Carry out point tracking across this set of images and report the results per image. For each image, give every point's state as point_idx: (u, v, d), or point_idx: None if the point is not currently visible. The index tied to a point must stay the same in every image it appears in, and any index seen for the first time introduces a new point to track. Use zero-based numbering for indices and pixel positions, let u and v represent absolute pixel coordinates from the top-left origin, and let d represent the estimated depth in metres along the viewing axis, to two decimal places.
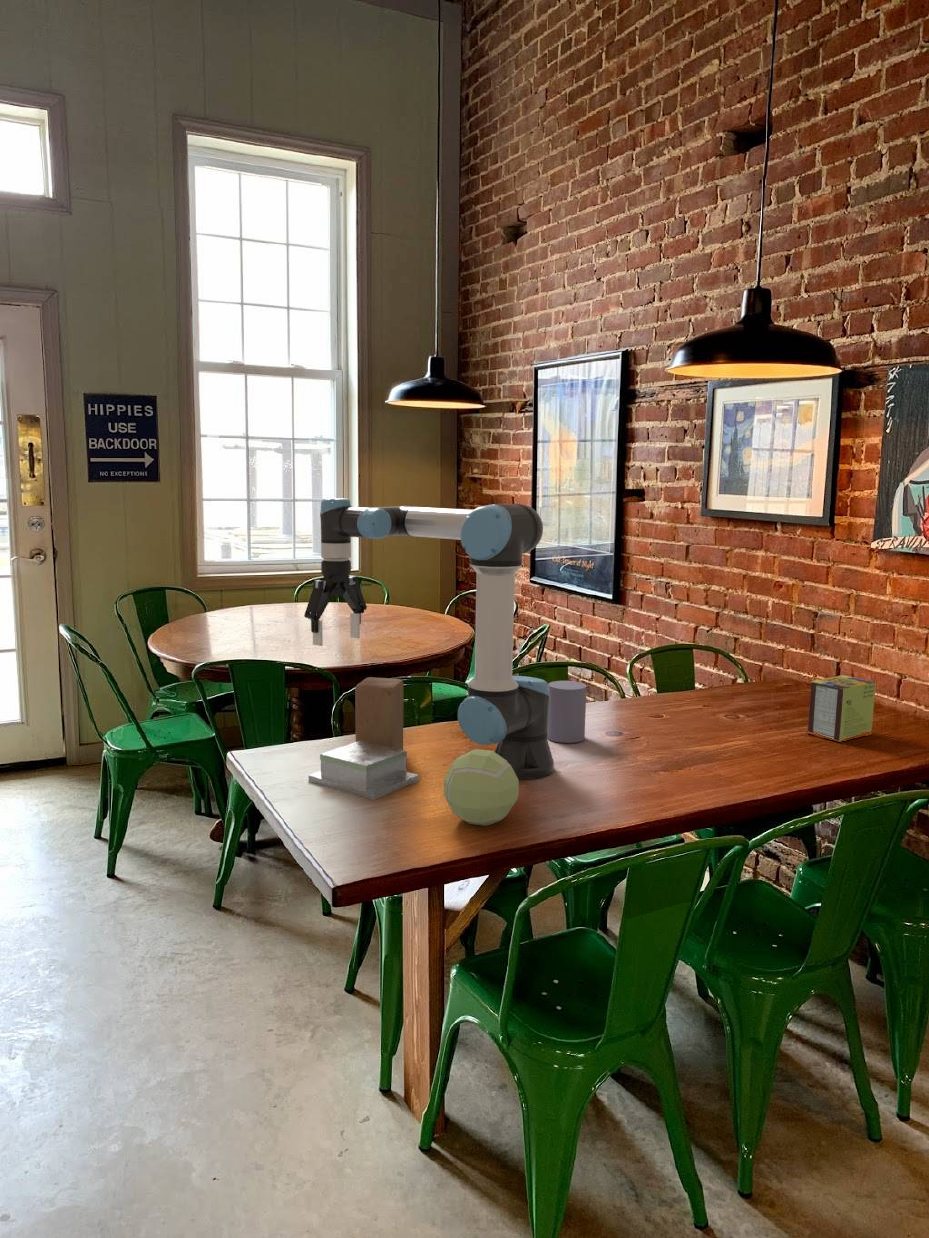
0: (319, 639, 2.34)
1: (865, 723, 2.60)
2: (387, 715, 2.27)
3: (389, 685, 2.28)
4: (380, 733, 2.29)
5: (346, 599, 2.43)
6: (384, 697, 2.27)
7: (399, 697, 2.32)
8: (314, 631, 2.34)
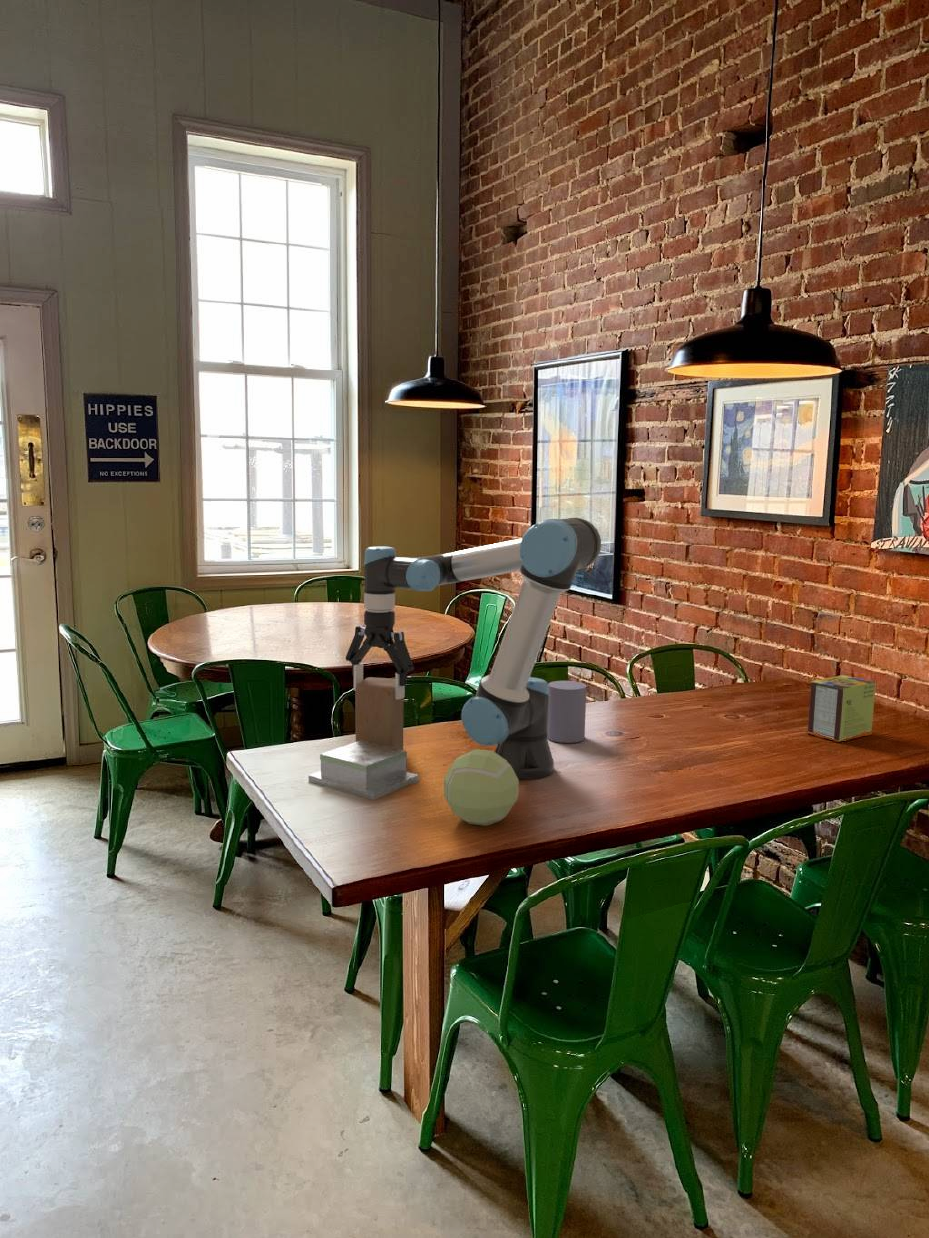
0: None
1: (865, 723, 2.60)
2: (387, 715, 2.27)
3: (389, 685, 2.28)
4: (380, 733, 2.29)
5: None
6: (384, 697, 2.27)
7: None
8: None
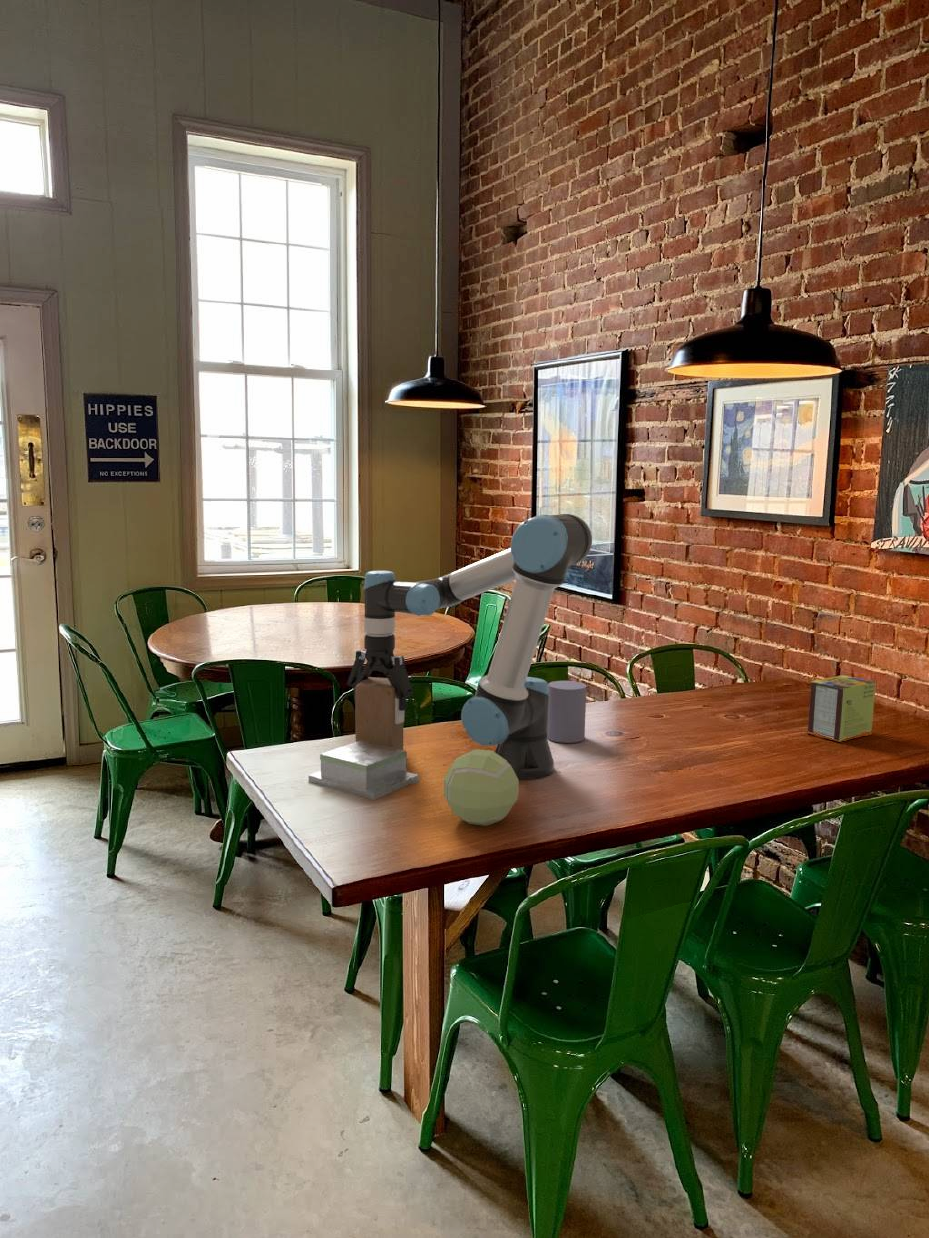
0: None
1: (865, 723, 2.60)
2: (387, 715, 2.27)
3: (389, 685, 2.28)
4: (380, 733, 2.29)
5: None
6: (383, 697, 2.27)
7: None
8: None
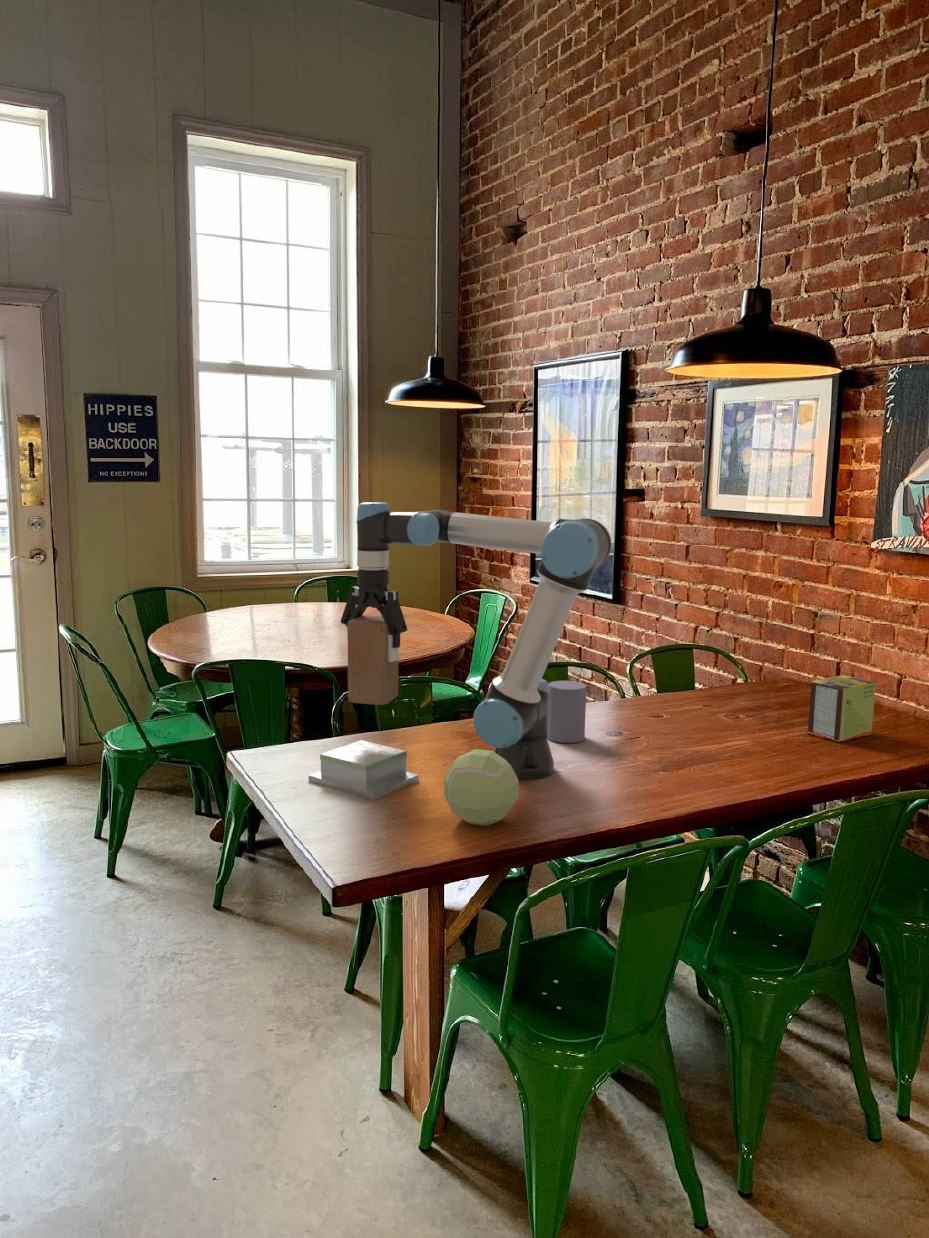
0: None
1: (865, 723, 2.60)
2: (380, 652, 2.18)
3: (382, 621, 2.19)
4: (372, 671, 2.19)
5: None
6: (376, 633, 2.18)
7: None
8: None
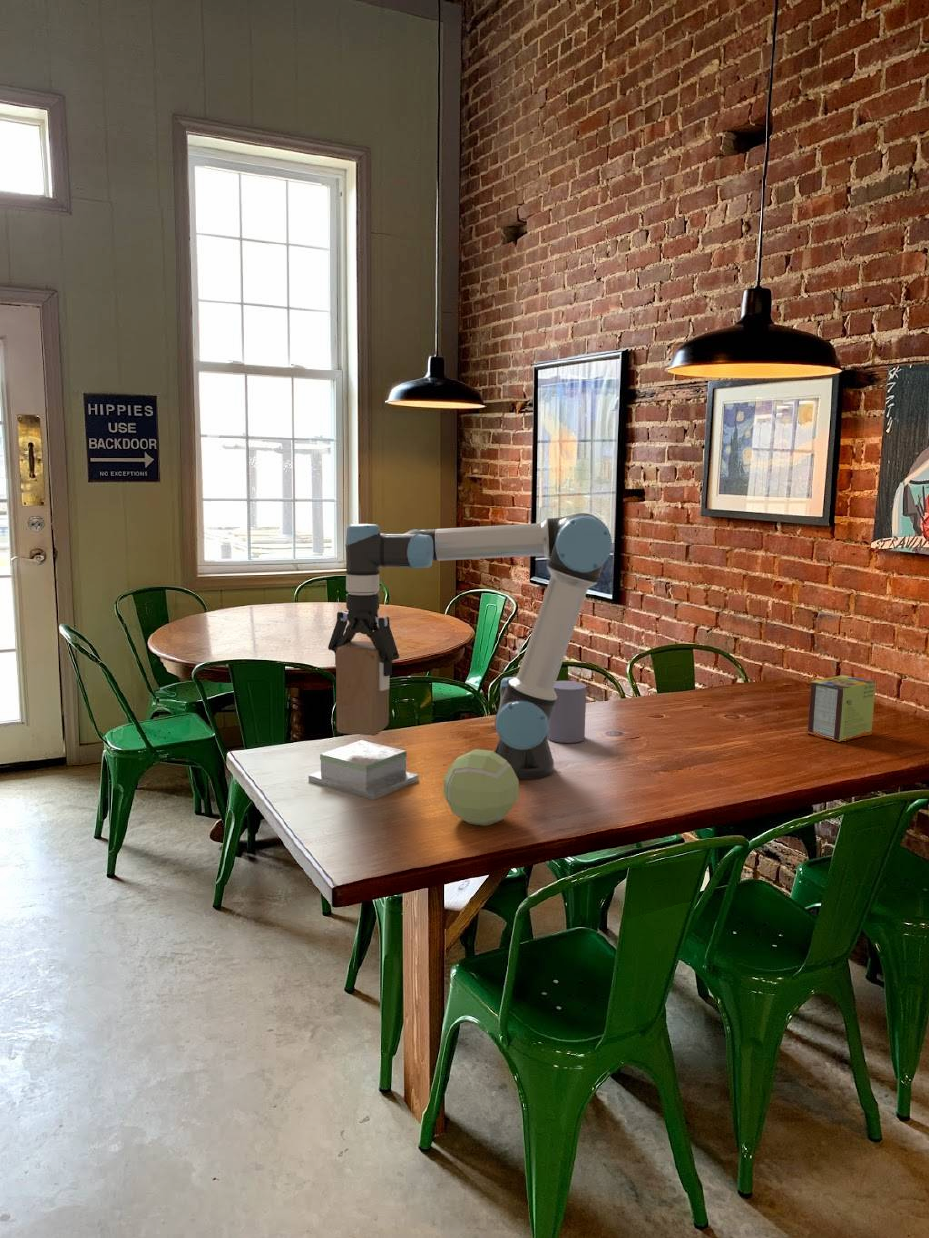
0: None
1: (865, 723, 2.60)
2: (371, 681, 2.09)
3: (373, 648, 2.09)
4: (363, 700, 2.10)
5: None
6: (367, 661, 2.08)
7: None
8: None
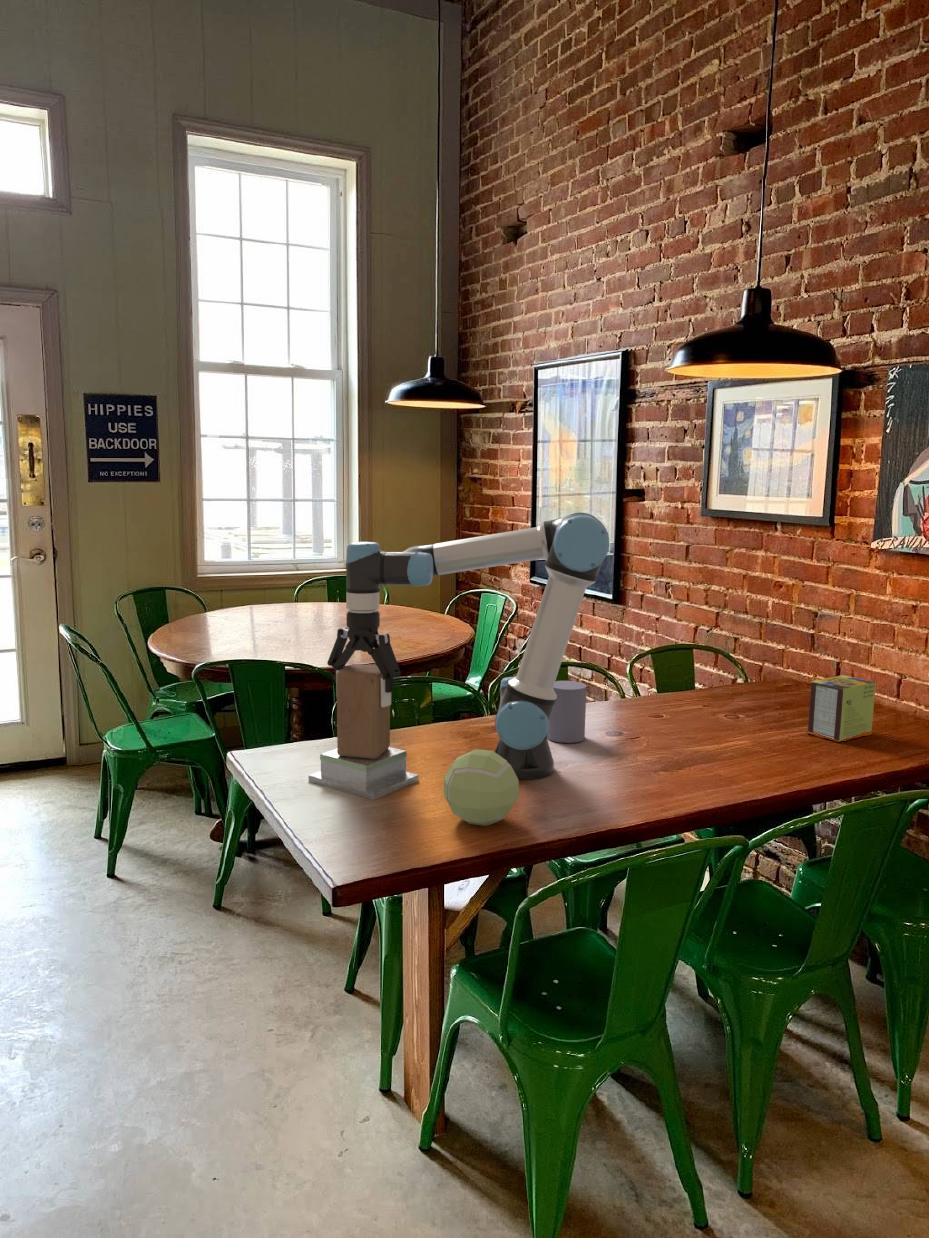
0: None
1: (865, 723, 2.60)
2: (371, 705, 2.10)
3: (373, 672, 2.10)
4: (363, 724, 2.11)
5: None
6: (367, 685, 2.09)
7: None
8: None
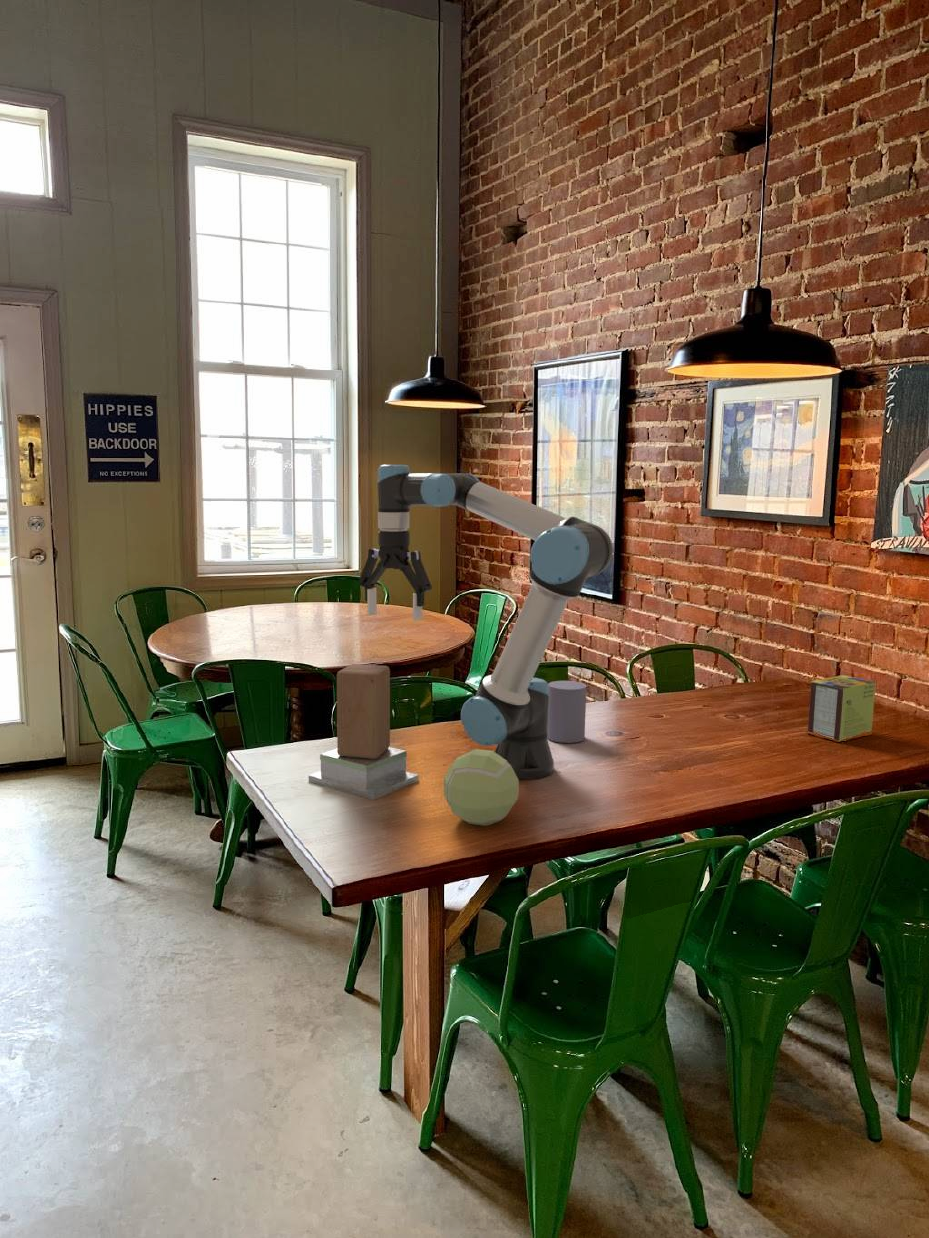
0: None
1: (865, 723, 2.60)
2: (371, 705, 2.10)
3: (373, 672, 2.10)
4: (363, 724, 2.11)
5: None
6: (367, 685, 2.09)
7: (384, 686, 2.14)
8: None
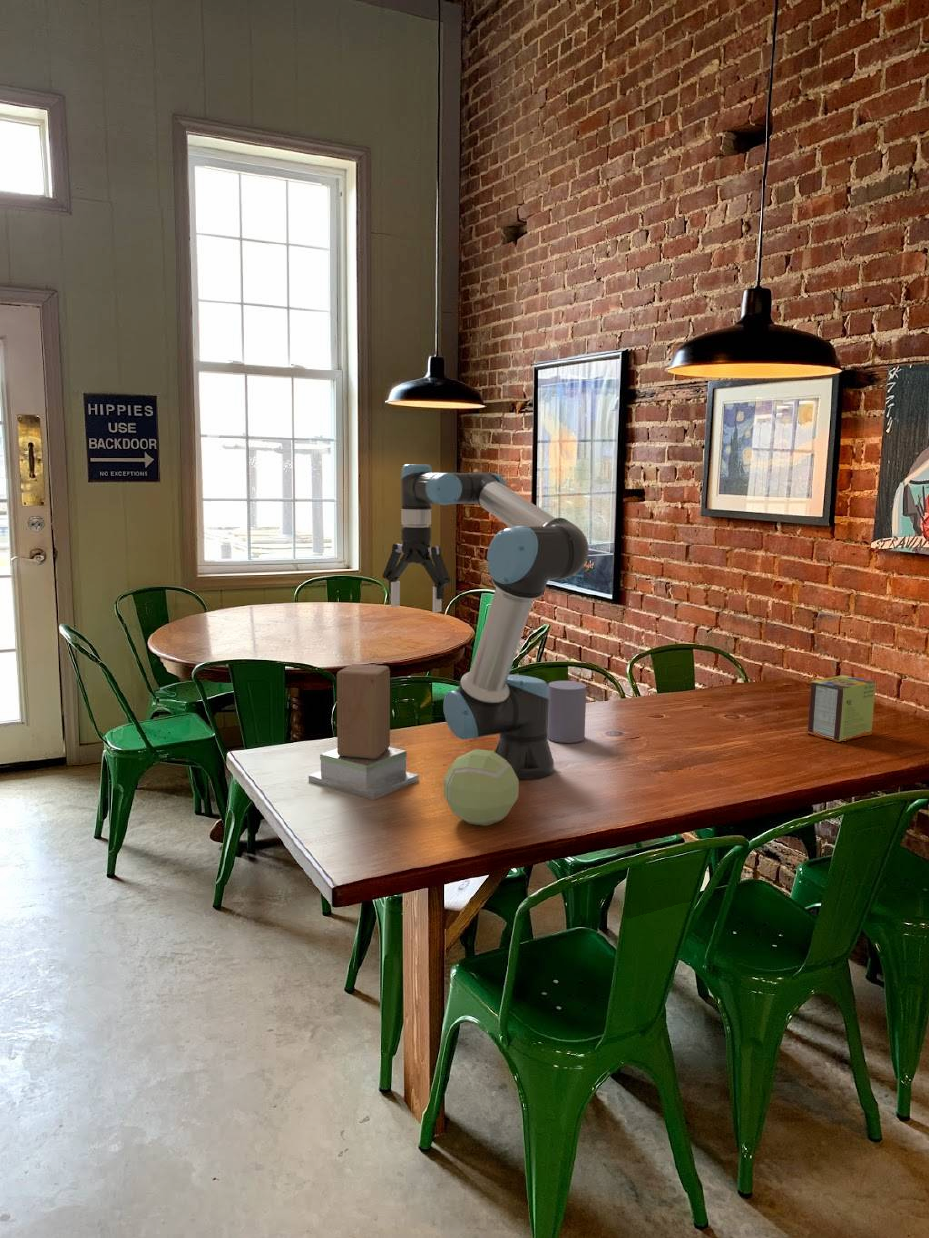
0: None
1: (865, 723, 2.60)
2: (371, 705, 2.10)
3: (373, 672, 2.10)
4: (363, 724, 2.11)
5: None
6: (367, 685, 2.09)
7: (384, 686, 2.14)
8: None
